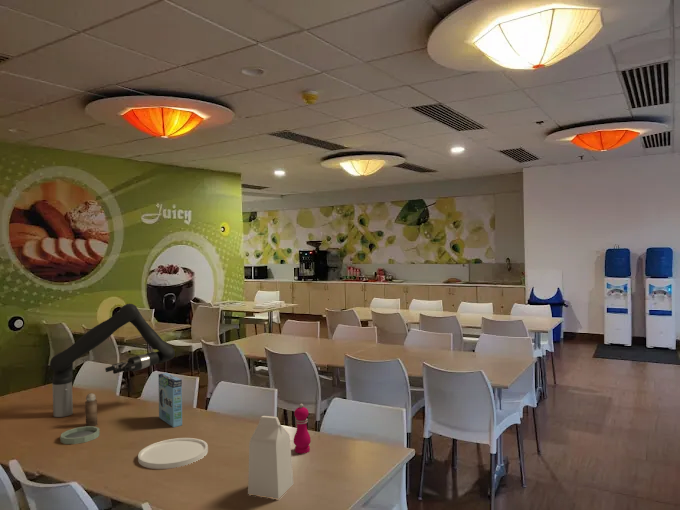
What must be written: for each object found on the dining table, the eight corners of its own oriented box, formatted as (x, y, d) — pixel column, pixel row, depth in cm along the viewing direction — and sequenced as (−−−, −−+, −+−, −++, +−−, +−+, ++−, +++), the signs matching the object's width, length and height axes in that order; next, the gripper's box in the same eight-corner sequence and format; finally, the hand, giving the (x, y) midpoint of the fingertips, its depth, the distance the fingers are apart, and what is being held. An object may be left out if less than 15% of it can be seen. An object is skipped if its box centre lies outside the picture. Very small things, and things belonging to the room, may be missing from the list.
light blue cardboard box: (158, 418, 263) (157, 374, 263) (168, 416, 266) (167, 372, 266) (173, 427, 248) (171, 380, 248) (183, 425, 251) (182, 379, 251)
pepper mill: (313, 448, 217) (312, 401, 217) (307, 455, 211) (305, 406, 210) (298, 446, 220) (296, 400, 220) (291, 453, 213) (289, 405, 213)
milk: (247, 495, 177) (245, 420, 177) (264, 480, 188) (262, 410, 188) (278, 500, 173) (276, 423, 173) (293, 485, 184) (291, 413, 183)
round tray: (54, 439, 236) (54, 434, 236) (88, 429, 249) (88, 424, 249) (71, 446, 227) (71, 441, 227) (105, 435, 239) (105, 430, 239)
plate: (137, 450, 222) (136, 444, 222) (202, 439, 233) (202, 433, 233) (139, 475, 196) (139, 469, 196) (213, 461, 207) (212, 455, 207)
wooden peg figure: (83, 425, 255) (82, 393, 255) (94, 422, 259) (93, 391, 259) (89, 427, 252) (88, 395, 251) (99, 424, 256) (98, 392, 256)
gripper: (131, 354, 280) (102, 362, 267) (144, 356, 270) (115, 365, 258) (133, 367, 280) (104, 376, 268) (146, 370, 271) (117, 379, 258)
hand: (109, 370), depth 263 cm, fingers open, 8 cm apart
